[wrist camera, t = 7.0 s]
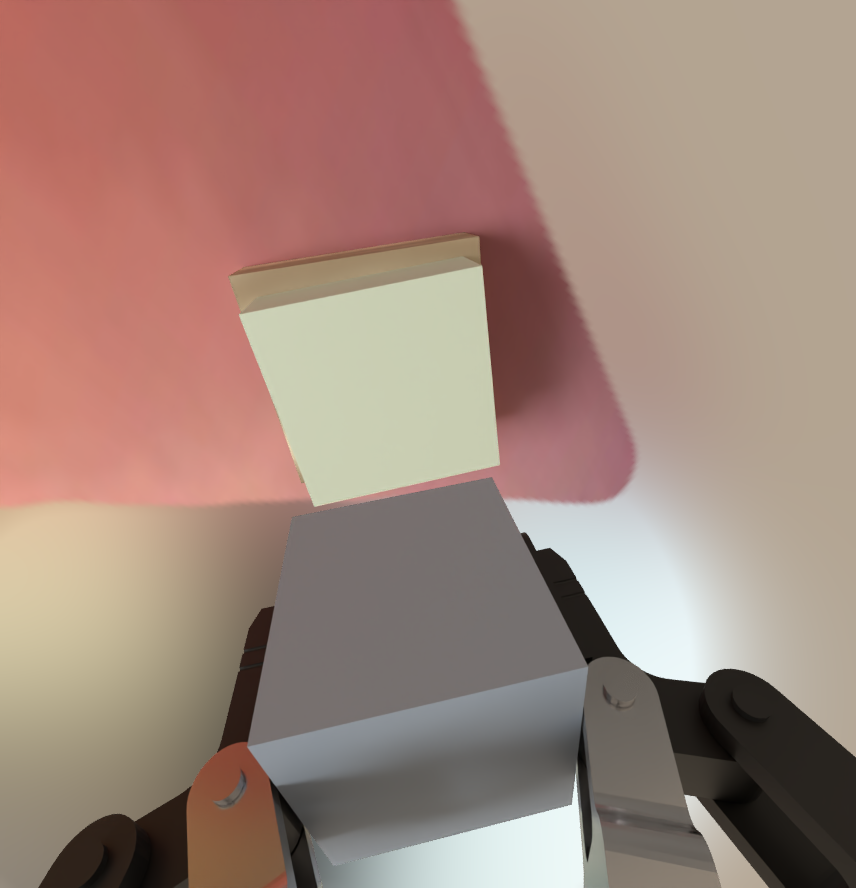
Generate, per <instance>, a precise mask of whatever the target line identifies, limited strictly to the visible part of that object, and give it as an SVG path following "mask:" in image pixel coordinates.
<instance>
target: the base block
mask: <svg viewBox="0 0 856 888" xmlns="http://www.w3.org/2000/svg"><path fill="white" fill-rule="evenodd" d="M461 256H463V257H465V258H467V259H469V260H471V261H474V262H476V263H478V264H480V265H481V259H480V242H479V236H476V235H472V234H468V233H465V232H463V233H457V234H450V235H444V236H438V237H431V238H425V239H419V240H413V241H406V242H400V243H394V244H387V245H381V246H375V247H368V248H362V249H356V250H349V251H343V252H337V253H331V254H324V255H318V256H312V257H305V258H299V259H293V260H286V261H280V262H274V263H267V264H261V265H255V266H249V267H243V268H242V269H240V270H238V271H237V272H235V273H233V274H231V275H230V276H228V277H229V280H230V283H231V286H232V288H233V291H234V294H235V297H236V300H237V303H238V305H239V308H240V311H241V312H242V311H243V310H244V309H245V308H246V307H247V306H248V305H249V304H250V303H252V302H253V301H254V300H255V299H256V298H257V297H261V296H266V295H271V294H276V293H281V292H286V291H291V290H296V289H301V288H306V287H311V286H316V285H321V284H326V283H331V282H336V281H341V280H346V279H351V278H356V277H361V276H366V275H371V274H376V273H381V272H386V271H391V270H396V269H401V268H406V267H411V266H416V265H421V264H426V263H431V262H436V261H441V260H446V259H451V258H456V257H461ZM272 401H273V400H272ZM273 404H274V403H273ZM274 407H275V405H274ZM275 410H276V408H275ZM276 412H277V410H276ZM277 415H278V413H277ZM278 418H279V416H278ZM279 421H280V418H279ZM280 424H281V426H282V423H281V421H280ZM282 429H283V432H284V435H285V438H286V441H287V443H288V446H289V449H290V452H291V455H292V457H293V460H294V463H295V466H296V469H297V472H298V474H299V477H300V480H301V483H304V479H303V476H302V474H301V471H300V469H299V466H298V464H297V461H296V459H295V456H294V454H293V451H292V449H291V446H290V443H289V441H288V438H287V436H286V433H285V431H284V428H283V426H282Z"/></svg>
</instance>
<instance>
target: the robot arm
mask: <svg viewBox="0 0 856 888" xmlns="http://www.w3.org/2000/svg"><path fill="white" fill-rule="evenodd" d="M520 534H521V536H522V538H523V540H524V541H525V543H526V545H527V547H528V549H529V551H530V553H531V555H532V557H533V559H534V561H535V563H536V565H537V567H538V569H539V571H540V573H541V575H542V577H543V579H544V581H545V583H546V585H547V587H548V589H549V591H550V592H551V594H552V596H553V598H554V600H555V602H556V604H557V606H558V608H559V610H560V612H561V614H562V616H563V618H564V620H565V622H566V624H567V626H568V628H569V630H570V632H571V634H572V636H573V638H574V640H575V642H576V643H577V645H578V647H579V649H580V651H581V653H582V655H583V657H584V659H585V661H586V663H587V665H588V674H587V682H586V690H585V698H584V707H583V715H582V723H581V731H580V740H579V748H578V756H577V764H576V779H577V792H578V803H579V815H580V827H581V839H582V850H583V866H584V888H721V885H720V882H719V878H718V874H717V871H716V867H715V864H714V861H713V858H712V855H711V852H710V850H709V847H708V845H707V843H706V841H705V839H704V837H703V836H702V834H701V833H700V832H699V831H698V830H696V828H695V827H694V825H693V823H692V820H691V818H690V815H689V812H688V808H687V804H686V800H685V796H684V795H690V796H696V797H697V798H698V800H699V801H700V802H701V803H702V805H703V806H704V807H705V808H706V810H707V811H708V812H709V813H710V815H711V816H712V817H713V818H714V819H715V821H716V822H717V823H718V825H719V826H720V827H721V828H722V830H723V831H724V832H725V833H726V834H727V836H728V837H729V838H730V840H731V841H732V842H733V843H734V845H735V846H736V847H737V848H738V850H739V851H740V852H741V853H742V854H743V856H744V857H745V858H746V859H747V861H748V862H749V863H750V864H751V866H752V867H753V868H754V869H755V871H756V872H757V873H758V874H759V876H760V877H761V878H762V879H763V881H764V882H765V883H766V884H767V886H768V887H769V888H856V757H855V756H853V755H852V754H851V753H850V752H849V751H847V750H846V749H845V748H844V747H843V746H842V745H841V744H839V743H838V742H837V741H836V740H835V739H834V738H832V737H831V736H830V735H829V734H828V733H827V732H825V731H824V730H823V729H822V728H821V727H820V726H818V725H817V724H816V723H815V722H814V721H813V720H812V719H810V718H809V717H808V716H807V715H806V714H805V713H803V712H802V711H801V710H800V709H798V708H797V707H796V706H795V705H794V704H793V703H792V702H791V701H789V700H788V699H787V698H786V697H785V696H783V695H782V694H781V693H780V692H779V691H778V690H777V689H775V688H774V687H773V686H771V685H770V684H769V683H768V682H766V681H764V680H763V679H761V678H759V677H757V676H755V675H753V674H751V673H748V672H745V671H741V670H736V669H723V670H718V671H716V672H714V673H713V674H711V675H710V676H709V677H708V679H707V680H706V683H699V682H689V681H681V680H672V679H665V678H660V677H656V676H653V675H651V674H649V673H646V672H644V671H643V670H641V669H640V668H639V667H637V666H636V665H634V664H633V663H631V662H630V661H629V660H628V659H627V658H626V657H625V656H624V655H623V654H622V653H621V651H620V650H619V648H618V647H617V645H616V644H615V642H614V640H613V638H612V637H611V635H610V633H609V632H608V630H607V628H606V627H605V625H604V623H603V622H602V620H601V618H600V617H599V615H598V613H597V612H596V610H595V608H594V607H593V605H592V603H591V602H590V600H589V598H588V597H587V596H586V595H585V592H584V590H583V588H582V587H581V585H580V584H579V582H578V581H577V580H576V576H575V575H574V573H573V572H572V570H571V568H570V566H569V565H568V563H567V562H566V560H564V559H563V558H562V557H561V556H559V555H558V554H557V553H556V552H554V551H553V550H552V549H551V548H547V549H543V550H538V551H536V549H535V548H534V545H533V544H532V542H531V540H530V538H529V536H528V535H527V534H526V533H520ZM274 607H275V606H273V607H268V608H263V609H261V611H260V612H259V614H258V616H257V617H256V619H255V620H254V622H253V623H252V625H251V626H250V628H249V631H248V635H247V639H246V643H245V647H244V654H243V655H242V659H241V663H240V672H238V675H237V680H236V684H235V688H234V692H233V696H232V700H231V704H230V708H229V712H228V716H227V720H226V724H225V728H224V733H223V736H222V740H221V744H220V747H219V749H218V751H217V753H216V754H215V755H214V756H213V757H212V758H211V759H210V760H209V761H208V762H207V763H206V764H205V765H204V766H203V768H202V769H201V770H200V772H199V773H198V775H197V777H196V778H195V781H194V782H193V785H192V786H191V787H189V788H188V789H187V790H186V791H184V792H183V793H181V794H180V795H179V796H177V797H175V798H174V799H172V800H170V801H169V802H167V803H165V804H163V805H162V806H160V807H158V808H157V809H155V810H153V811H152V812H150V813H148V814H147V815H145V816H143V817H142V818H140V819H138V820H137V821H135V822H134V821H133V820H132V819H130V818H129V817H127V816H125V815H122V814H112V815H109V816H105V817H103V818H101V819H99V820H97V821H95V822H93V823H92V824H90V825H89V826H87V827H86V828H85V829H83V830H82V831H81V832H80V833H79V834H78V835H76V836H75V837H74V838H73V839H72V840H71V841H70V842H69V844H68V845H67V846H66V847H65V848H64V849H63V851H62V852H61V853H60V854H59V856H58V857H57V859H56V861H55V862H54V863H53V865H52V866H51V868H50V870H49V871H48V873H47V875H46V876H45V878H44V879H43V881H42V883H41V884H40V886H39V888H323V887H322V882H321V878H320V874H319V870H318V865H317V861H316V857H315V852H314V848H313V844H312V840H311V835H310V833H309V831H308V830H307V829H306V827H305V826H304V824H303V823H302V822H301V820H300V819H299V818H298V816H297V815H296V813H295V812H294V811H293V809H292V808H291V807H290V805H289V804H288V802H287V801H286V800H285V798H284V797H283V796H282V794H281V793H280V792H279V790H278V789H277V787H276V786H275V785H274V783H273V782H272V781H271V779H270V778H269V776H268V775H267V774H266V772H265V771H264V770H263V768H262V767H261V765H260V764H259V763H258V761H257V760H256V759H255V757H254V756H253V754H252V753H251V752H250V750H249V749H248V748H247V745H248V739H249V734H250V729H251V724H252V719H253V714H254V709H255V704H256V699H257V693H258V688H259V683H260V678H261V673H262V668H263V663H264V658H265V653H266V648H267V642H268V637H269V632H270V627H271V622H272V617H273V612H274Z"/></svg>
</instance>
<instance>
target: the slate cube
mask: <svg viewBox="0 0 856 888" xmlns="http://www.w3.org/2000/svg"><path fill="white" fill-rule="evenodd" d="M587 674H588V665H587V663H586V661H585V659H584V657H583V655H582V653H581V651H580V649H579V647H578V645H577V643H576V642H575V640H574V638H573V636H572V634H571V632H570V630H569V628H568V626H567V624H566V622H565V620H564V618H563V616H562V614H561V612H560V610H559V608H558V606H557V604H556V602H555V600H554V598H553V596H552V594H551V592H550V591H549V589H548V587H547V585H546V583H545V581H544V579H543V577H542V575H541V573H540V571H539V569H538V567H537V565H536V563H535V561H534V559H533V557H532V555H531V553H530V551H529V549H528V547H527V545H526V543H525V541H524V540H523V538H522V536H521V534H520V532H519V530H518V528H517V526H516V524H515V522H514V520H513V518H512V516H511V514H510V512H509V510H508V508H507V506H506V504H505V502H504V500H503V498H502V496H501V494H500V492H499V490H498V489H497V487H496V485H495V483H494V481H493V479H492V477H491V478H486V479H481V480H476V481H471V482H466V483H461V484H456V485H451V486H446V487H441V488H436V489H431V490H426V491H420V492H415V493H410V494H405V495H400V496H395V497H390V498H385V499H380V500H375V501H370V502H365V503H360V504H355V505H350V506H345V507H340V508H335V509H330V510H325V511H320V512H315V513H310V514H305V515H300V516H295V517H292V520H291V525H290V531H289V536H288V540H287V546H286V551H285V556H284V561H283V566H282V571H281V576H280V581H279V586H278V591H277V597H276V602H275V607H274V612H273V617H272V622H271V627H270V632H269V637H268V642H267V648H266V653H265V658H264V663H263V668H262V673H261V678H260V683H259V688H258V693H257V699H256V704H255V709H254V714H253V719H252V724H251V729H250V734H249V739H248V745H247V748H248V749H249V750H250V752H251V753H252V754H253V756H254V757H255V759H256V760H257V761H258V763H259V764H260V765H261V767H262V768H263V770H264V771H265V772H266V774H267V775H268V776H269V778H270V779H271V781H272V782H273V783H274V785H275V786H276V787H277V789H278V790H279V792H280V793H281V794H282V796H283V797H284V798H285V800H286V801H287V802H288V804H289V805H290V807H291V808H292V809H293V811H294V812H295V813H296V815H297V816H298V818H299V819H300V820H301V822H302V823H303V824H304V826H305V827H306V829H307V830H308V831H309V833H310V834H311V835H312V837H313V838H314V839H315V841H316V842H317V844H318V845H319V846H320V848H321V849H322V850H323V852H324V853H325V855H326V856H327V857H328V859H329V860H330V861H331V863H332V864H333V865H334V866H336V865H339V864H343V863H347V862H351V861H355V860H359V859H363V858H367V857H370V856H374V855H378V854H382V853H386V852H390V851H393V850H398V849H401V848H405V847H409V846H412V845H417V844H421V843H425V842H429V841H432V840H436V839H440V838H444V837H448V836H452V835H456V834H460V833H463V832H467V831H471V830H475V829H478V828H483V827H487V826H490V825H494V824H498V823H502V822H506V821H510V820H514V819H517V818H521V817H525V816H529V815H533V814H537V813H540V812H545V811H549V810H552V809H556V808H560V807H564V806H568V805H571V804H572V797H573V789H574V781H575V773H576V764H577V756H578V748H579V740H580V731H581V723H582V715H583V707H584V698H585V690H586V682H587Z"/></svg>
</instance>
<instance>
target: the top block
mask: <svg viewBox="0 0 856 888" xmlns="http://www.w3.org/2000/svg"><path fill="white" fill-rule="evenodd" d="M239 316H240V319H241V322H242V324H243V327H244V329H245V332H246V334H247V337H248V339H249V342H250V344H251V347H252V350H253V352H254V355H255V357H256V360H257V362H258V365H259V367H260V370H261V372H262V375H263V377H264V380H265V383H266V385H267V388H268V390H269V393H270V395H271V398H272V400H273V403H274V405H275V408H276V410H277V413H278V416H279V418H280V421H281V423H282V426H283V428H284V431H285V433H286V436H287V438H288V441H289V443H290V446H291V449H292V451H293V454H294V456H295V459H296V461H297V464H298V466H299V469H300V471H301V474H302V476H303V479H304V482H305V484H306V487H307V489H308V492H309V494H310V497H311V499H312V502H313V504H314V506H315V507H316V506H320V505H325V504H329V503H334V502H338V501H342V500H347V499H351V498H356V497H360V496H365V495H369V494H373V493H378V492H382V491H387V490H391V489H396V488H400V487H404V486H409V485H413V484H418V483H422V482H427V481H431V480H436V479H440V478H444V477H449V476H453V475H458V474H462V473H467V472H471V471H475V470H480V469H484V468H489V467H493V466H498V465H500V461H499V450H498V439H497V427H496V416H495V405H494V394H493V382H492V371H491V360H490V349H489V337H488V326H487V315H486V303H485V292H484V281H483V270H482V265H480V264H478V263H476V262H474V261H471V260H469V259H467V258H465V257H463V256H461V257H456V258H451V259H446V260H441V261H436V262H431V263H426V264H421V265H416V266H411V267H406V268H401V269H396V270H391V271H386V272H381V273H376V274H371V275H366V276H361V277H356V278H351V279H346V280H341V281H336V282H331V283H326V284H321V285H316V286H311V287H306V288H301V289H296V290H291V291H286V292H281V293H276V294H271V295H266V296H261V297H257V298H256V299H255V300H254V301H253V302H252V303H250V304H249V305H248V306H247V307H246V308H245V309H244V310H243V311H242V312H241V313H240V314H239Z"/></svg>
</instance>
